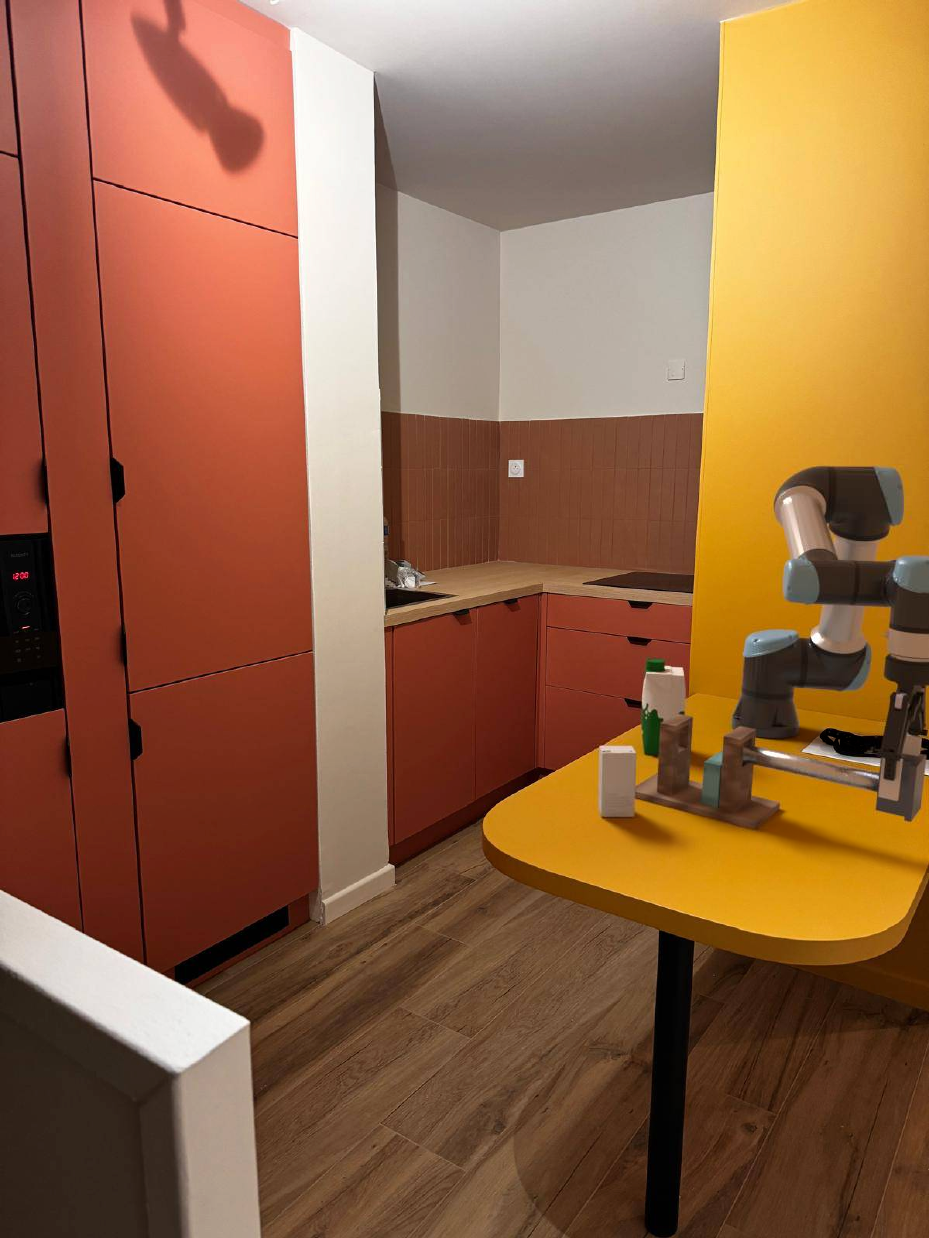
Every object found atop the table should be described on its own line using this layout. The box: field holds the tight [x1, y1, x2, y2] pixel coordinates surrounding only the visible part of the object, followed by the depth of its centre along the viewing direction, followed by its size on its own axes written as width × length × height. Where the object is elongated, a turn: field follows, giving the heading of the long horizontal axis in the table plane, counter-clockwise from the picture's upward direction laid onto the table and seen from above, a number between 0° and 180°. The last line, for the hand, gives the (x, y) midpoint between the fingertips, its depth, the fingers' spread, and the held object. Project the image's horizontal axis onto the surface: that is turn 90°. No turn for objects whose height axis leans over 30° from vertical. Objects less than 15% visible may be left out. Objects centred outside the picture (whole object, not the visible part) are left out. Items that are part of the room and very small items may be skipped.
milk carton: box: [640, 657, 687, 756], centre depth 187 cm, size 9×9×20 cm
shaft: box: [742, 744, 927, 823], centre depth 146 cm, size 30×7×9 cm, turn 52°
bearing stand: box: [635, 714, 781, 831], centre depth 159 cm, size 24×12×15 cm, turn 52°
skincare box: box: [597, 745, 637, 818], centre depth 154 cm, size 6×4×12 cm
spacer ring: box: [701, 750, 723, 808], centre depth 158 cm, size 3×8×8 cm, turn 142°
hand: (898, 785), depth 139 cm, fingers open, 13 cm apart
